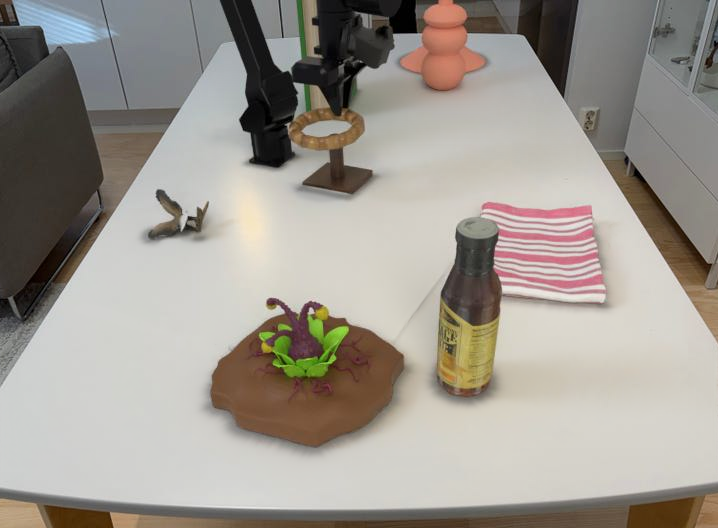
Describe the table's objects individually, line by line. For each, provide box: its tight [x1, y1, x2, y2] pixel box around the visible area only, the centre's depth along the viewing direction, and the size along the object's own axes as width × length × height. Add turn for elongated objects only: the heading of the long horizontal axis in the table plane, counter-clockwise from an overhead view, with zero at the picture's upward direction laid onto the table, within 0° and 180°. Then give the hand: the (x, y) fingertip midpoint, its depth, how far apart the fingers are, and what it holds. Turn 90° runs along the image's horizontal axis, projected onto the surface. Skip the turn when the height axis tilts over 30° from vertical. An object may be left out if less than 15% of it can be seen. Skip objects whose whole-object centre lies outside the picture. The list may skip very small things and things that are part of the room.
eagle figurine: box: [147, 188, 210, 239], centre depth 105 cm, size 8×7×9 cm
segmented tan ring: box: [288, 107, 366, 152], centre depth 109 cm, size 12×12×2 cm
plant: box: [209, 297, 405, 447], centre depth 75 cm, size 20×20×11 cm
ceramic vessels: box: [400, 0, 486, 91], centre depth 161 cm, size 35×21×19 cm, turn 175°
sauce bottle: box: [436, 216, 503, 397], centre depth 71 cm, size 6×6×20 cm
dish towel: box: [479, 201, 607, 305], centre depth 97 cm, size 17×23×4 cm
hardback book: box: [295, 0, 358, 112], centre depth 143 cm, size 18×7×24 cm, turn 170°
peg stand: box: [301, 133, 374, 195], centre depth 117 cm, size 9×9×8 cm
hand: (341, 113), depth 112 cm, fingers closed on segmented tan ring, 2 cm apart
